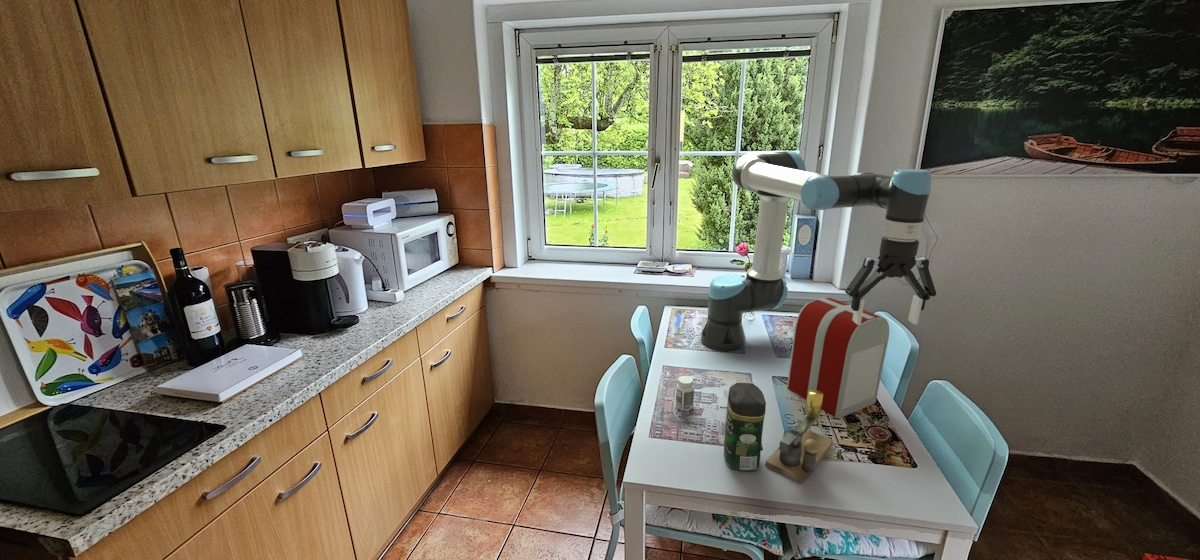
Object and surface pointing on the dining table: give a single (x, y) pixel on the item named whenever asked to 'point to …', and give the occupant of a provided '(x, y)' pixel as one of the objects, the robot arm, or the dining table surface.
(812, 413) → the lever
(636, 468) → the dining table surface
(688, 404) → the pill bottle
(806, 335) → the red white arched box
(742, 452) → the coffee jar
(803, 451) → the wooden board with cylinders
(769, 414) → the dining table surface
